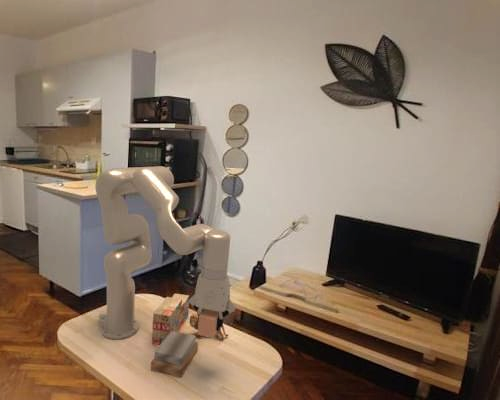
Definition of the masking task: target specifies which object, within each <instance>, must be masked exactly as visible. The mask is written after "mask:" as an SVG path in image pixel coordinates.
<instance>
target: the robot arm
mask: <svg viewBox="0 0 500 400" xmlns="http://www.w3.org/2000/svg"><path fill="white" fill-rule="evenodd" d="M174 178H175V177H174V175H173V173H172V171H171V170H170V169H169V168H167V167H166V166H161V165H159V166H157V165H155V166H142V167H141V166H140V167H139V166H136V167H134V166H132V167H116V168H109V169H106V170H103V171H102V172H100V173H99V174H98V176H97V178H96V181H95V194H96V196H97V199H98V202H99V205H100V208H101V210H100V211H101V218H102V226H103V232H104V238H105V240H106V242H107V243H108V244H109V245H112V246H115V245H116V246H117V245H123V244H126V243H130V244H127V245H123V246H121V247H117V248H114V249H112V250H111V251H110V250H109V252H107V254H105V255H104V259H103V268H104V273H105V278H106V314H105V313H99V316H98V320H97V322H98V323H101V324H103V326H102V328H101V334H102V336H103V337H105V338H107V339H110V340H123V339H127V338H130V337H132V336H133V335H135V334H136V333H137V331H138V330H139V323H138V322H137V320H135V301H136V298H135V297H136V293H135V292H136V284H135V280H134V278H132V275H131V273H132V272H134V271H137V270H139V269H142V268H145V267H146V266H147V265H149V264H150V262H151V261H152V257H153V251H152V245H151V236H150V235H151V234H150V228H149V224H148V221H147V220H146V218H145V217H144V216H143V215H141V214H138V213H133V214H129V212H128V211H129V209H128V205H127V202H126V200H125V199H124V197H123V196H122V195H121V194H122V193H123V194H124V193H133V192H138V194H140V196H141V197H142V198H143V200H145V202H146V203H147V204H148V205H149V206H150V207H151V208H152V210H153V211H154V212H155V214H156V226H157V230H158V232H159V234H160V237H161V238H162V240H163V241H165V243H166V245H168V246H169V248H170V249H171V250H172V251H174V252H175V253H176V254H178V255H180V256H184V255H185V256H187V255H190V254H192V253H194V252H196V251H199V250H203V255H202V264H198V265H197V270H200V273H199V274H198V278H197V280H196V286H195V291H194V294H193V296H191V297H189V305H191V306H193V309H194V310H195V311H196V314H198V322H199V316H200V314H201V313H202V311H203V310H204V309H208V310H213V311H218V315H219V317H218V319H217V329H216V330H217V331H219V329H220V327H221V328H222V326H224V318H225V317H227V316H229V314H231V313H234V312H235V310H236V306H235V305H234V303H233V302H232V300H231V297H230V296H231V287H230V285H231V284H230V277H229V275H228V269H229V267H228V266H229V255H230V245H231V236H230V233H228V231H225V230H221V229H215V228H213V227H211V226H210V225H207V224H205V223H198V224H194V225H191V226H187V227H184V228H182V226H181V225H180V224H179V223H178V222H177V221H176V219H175V217H174V215H173V213H172V212H173V211H174V210H175V209H176V207H178V204H179V202H180V197H179V195H178V194H176V192H175V191H174V190H173V189H172V187H173V185H174V183H175V179H174Z"/></svg>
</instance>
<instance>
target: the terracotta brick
mask: <svg viewBox="0 0 500 400" xmlns="http://www.w3.org/2000/svg"><path fill="white" fill-rule="evenodd" d="M218 317H219V315H218V311H213V310H208V309H204V310H203V311H202V313H201V314H200V316H199V322H198V330H197V336H200V335H201V336H202V337H206V338H210V339H214V338H215V337H216V336H217V335H216V333H217V330H216V329H217V319H218Z"/></svg>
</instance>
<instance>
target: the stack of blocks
mask: <svg viewBox="0 0 500 400" xmlns="http://www.w3.org/2000/svg"><path fill="white" fill-rule="evenodd" d="M189 300H190V295H189V294H188V295H187V294H180V293H174V294H173V295H172V297H171V296H166V297H165V299H164V300H163V301H162V302H161V304H159V306H158V307H157V308H156V310H155V311H153V315H152V336H151V337H152V338H151V339H152V340H151V341H152V342H151V344H152V345H155V346H160V344H161V343H162V342H163V341H164V339H165V338H166V337H167V336H168V334H169V333H170V332H171V331H175V332H179V331H180V330H181V328H182V326H183V324H184V323H185V322H186V320H187V318H188V317H189V311H190V310H189V307H190V303H189Z"/></svg>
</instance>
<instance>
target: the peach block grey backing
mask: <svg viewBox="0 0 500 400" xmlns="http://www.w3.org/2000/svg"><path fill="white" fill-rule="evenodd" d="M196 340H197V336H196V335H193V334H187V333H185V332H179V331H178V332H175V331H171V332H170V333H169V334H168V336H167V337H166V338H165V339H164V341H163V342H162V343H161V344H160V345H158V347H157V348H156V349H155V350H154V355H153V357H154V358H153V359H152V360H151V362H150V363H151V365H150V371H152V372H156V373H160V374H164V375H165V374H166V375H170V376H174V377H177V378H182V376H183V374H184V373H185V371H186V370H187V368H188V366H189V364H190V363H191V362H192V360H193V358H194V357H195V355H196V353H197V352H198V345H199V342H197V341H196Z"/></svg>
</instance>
